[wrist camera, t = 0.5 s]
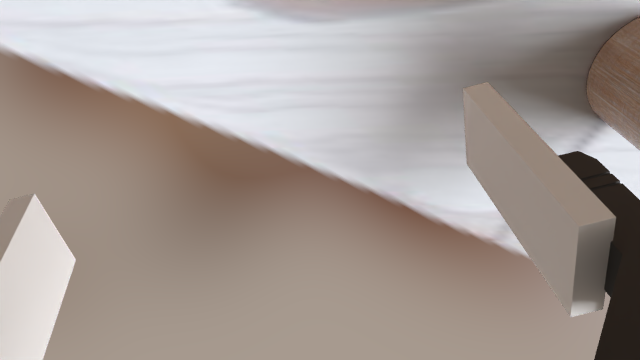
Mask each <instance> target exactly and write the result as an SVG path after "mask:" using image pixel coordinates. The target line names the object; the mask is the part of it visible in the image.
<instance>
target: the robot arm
mask: <svg viewBox="0 0 640 360" xmlns="http://www.w3.org/2000/svg"><path fill="white" fill-rule="evenodd" d="M463 103H464V121H465V140H466V159H467V165H468V166H469V168H470V169H471V171H472V172H473V173H474V175H475V176H476V178H477V179H478V181H479V182H480V184H481V185H482V187H483V188H484V190H485V191H486V193H487V194H488V196H489V197H490V199H491V200H492V202H493V203H494V205H495V206H496V208H497V209H498V211H499V212H500V214H501V215H502V216H503V218H504V219H505V221H506V222H507V224H508V225H509V227H510V228H511V230H512V231H513V233H514V234H515V236H516V237H517V239H518V240H519V242H520V243H521V245H522V246H523V248H524V249H525V251H526V252H527V254H528V255H529V257H530V258H531V259H532V261H533V262H534V264H535V265H536V267H537V268H538V270H539V271H540V273H541V274H542V276H543V277H544V279H545V280H546V282H547V283H548V285H549V286H550V287H551V289H552V291H553V292H554V293H555V295H556V297H557V298H558V300H559V301H560V302H561V304H562V305H563V307H564V308H565V310H566V311H567V313H568V314H569V316H570V317H573V316H577V315H581V314H586V313H590V312H593V311H598V310H602V309H603V306H604V299H605V292H607V293H608V295H609V296H610V297H611V299H610V303H609V307H608V310H607V314H606V318H605V322H604V325H603V329H602V333H601V336H600V340H599V344H598V347H597V351H596V355H595V359H594V360H640V200H639V199H638V198H637V197H636V196H635V195H634V194H633V193H632V192H631V191H630V190H629V189H628V188H626V187H625V186H624V185H623V184H620V181H619V180H618V179H617V178H616V177H615V176H614V175H613V174H610V171H609V170H608V169H606V168H605V167H604V166H603V165H602V164H601V163H600V162H599V161H598V160H597V159H595V158H593V157H590V156H588V155H586V154H584V153H582V152H579V151H576V152H572V153H568V154H563V155H559V156H558V155H557V154H556V153H555V152H554V151H553V150H552V149H551V148H550V147H549V146H548V145H547V144H546V143H545V142H544V141H543V140H542V139H541V138H540V137H539V136H538V134H537V133H536V132H535V131H534V130H533V129H532V128H531V127H530V126H529V125H528V124H527V123H526V122H525V121H524V120H523V119H522V118H521V117H520V116H519V114H518V113H517V112H516V111H515V110H514V109H513V108H512V107H511V106H510V105H509V104H508V103H507V102H506V101H505V100H504V99H503V98H502V97H501V96H500V94H499V93H498V92H497V91H496V90H495V89H494V88H493V87H492V86H491V85H490V84H489V83H488V82H486V83H481V84H477V85H473V86H469V87H465V88H463ZM75 261H76V259H75V258H74V256H73V254H72V253H71V251H70V250H69V248H68V247H67V245H66V243H65V242H64V240H63V238H62V237H61V236H60V234H59V232H58V231H57V229H56V227H55V226H54V224H53V222H52V221H51V219H50V218H49V216H48V214H47V213H46V211H45V210H44V208H43V206H42V205H41V203H40V201H39V200H38V198H37V197H36V195H35V194H30V195H26V196H22V197H18V198H14V199H10V200H9V201H8V203H7V205H6V207H5V209H4V210H3V212H2V214H1V216H0V360H43V357H44V354H45V351H46V348H47V345H48V342H49V339H50V336H51V333H52V330H53V327H54V324H55V321H56V318H57V315H58V312H59V308H60V306H61V303H62V300H63V297H64V294H65V291H66V288H67V285H68V282H69V279H70V276H71V273H72V270H73V267H74V264H75Z"/></svg>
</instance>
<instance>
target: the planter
mask: <svg viewBox="0 0 640 360" xmlns="http://www.w3.org/2000/svg"><path fill="white" fill-rule="evenodd" d="M587 98H588V101H589V104H590V106H591V108H592V109H593V111H594V112H595V113H596V114H597V115H598V116H599V117H600V118H601V119H602V120H603V121H604V122H606V123H607V124H608V125H609V126H610V127H612V128H613V129H614V130H615V131H617V132H618V133H619V134H620V135H622V136H623V137H624V138H625V139H626V140H628V141H629V142H630V143H631V144H633V145H634V146H635V147H636V148H638V149H639V150H640V17H639V18H637V19H635V20H633V21H632V22H630V23H628V24H627V25H625V26H624V27H622V28H621V29H620V30H618V31H617V32H616V33H615V34H614V35H613V36H612V37H611V38H610V39H609V40H608V41H607V42H606V43H605V44H604V46H603V47H602V48H601V50H600V51H599V53H598V54H597V56H596V58H595V59H594V61H593V63H592V66H591V68H590V71H589V74H588V79H587Z"/></svg>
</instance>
